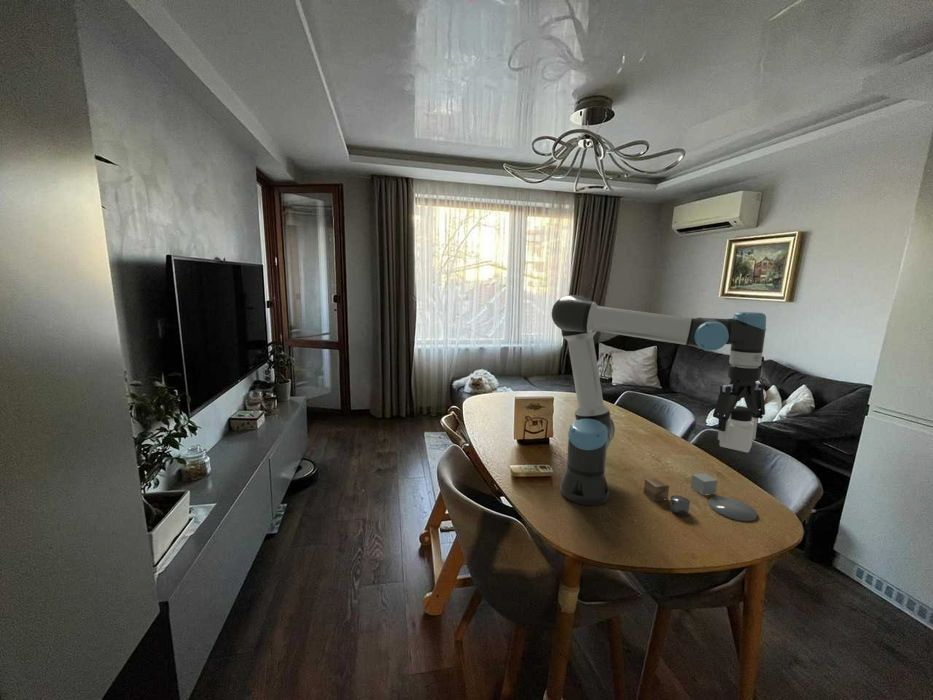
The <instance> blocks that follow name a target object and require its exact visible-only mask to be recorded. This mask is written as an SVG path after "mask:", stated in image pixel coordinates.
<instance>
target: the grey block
mask: <svg viewBox="0 0 933 700" xmlns="http://www.w3.org/2000/svg"><path fill="white" fill-rule="evenodd" d="M690 481H691V482H690V489H691V488H693V489H694V490H696V491H697V492H699V493H701V494H702V495H705V494H714V493H716V492H717V485H718V480H717V479H715V478H714V477H712V476H711V475H709V474H707V473H696V474H695V473H693V474H691V480H690ZM693 489H692V490H693ZM694 490H693V491H694ZM696 491H695V492H696ZM697 492H696V493H697ZM699 493H698V494H699ZM702 495H701V496H702ZM714 495H715V494H714Z"/></svg>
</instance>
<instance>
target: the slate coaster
mask: <svg viewBox="0 0 933 700" xmlns="http://www.w3.org/2000/svg"><path fill="white" fill-rule="evenodd" d="M708 505H710V506H709V507H710V508H712V509H711V510H713V511H714V512H715V511H716V512H715V513H717V514H718V513H719V515H720V514H721V515H720V516H722V517H725V518H727V519H731V520H734V521H739V522H752V521H755V520H756V519H757V516H758V515H757V514H758V513H757V511H756V509H754V508H753V507H752V506H751V505H749V504H747V503H745V502H743V501H741V500H738V499H736V498H731V497H728V496H727V497H726V496H713V497H710V498H709V500H708Z"/></svg>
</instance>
